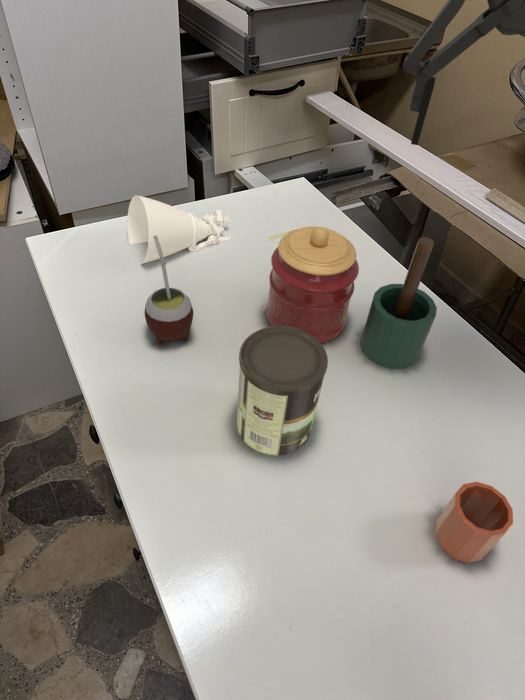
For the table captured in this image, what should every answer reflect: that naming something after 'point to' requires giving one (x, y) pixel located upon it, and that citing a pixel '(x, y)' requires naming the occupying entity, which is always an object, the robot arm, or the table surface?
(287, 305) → the kitchen canister
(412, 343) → the jar
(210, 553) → the table surface
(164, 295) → the mate gourd
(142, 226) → the rocket engine
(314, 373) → the coffee can
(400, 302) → the brush
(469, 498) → the holder
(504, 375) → the table surface
